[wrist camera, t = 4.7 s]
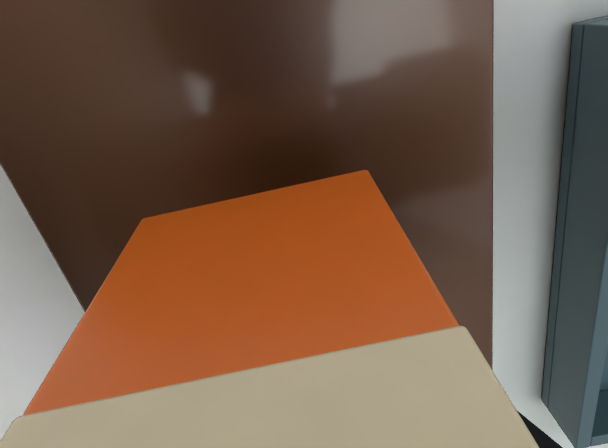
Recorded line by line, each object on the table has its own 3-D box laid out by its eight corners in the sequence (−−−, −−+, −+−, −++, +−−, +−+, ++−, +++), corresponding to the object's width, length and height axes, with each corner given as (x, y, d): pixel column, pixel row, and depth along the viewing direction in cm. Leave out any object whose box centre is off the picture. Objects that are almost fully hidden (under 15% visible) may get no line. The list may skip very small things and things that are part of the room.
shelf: (214, 402, 18) (199, 513, 14) (28, -14, 11) (-112, -27, 7) (443, 355, 18) (493, 455, 14) (411, -106, 11) (496, -174, 7)
